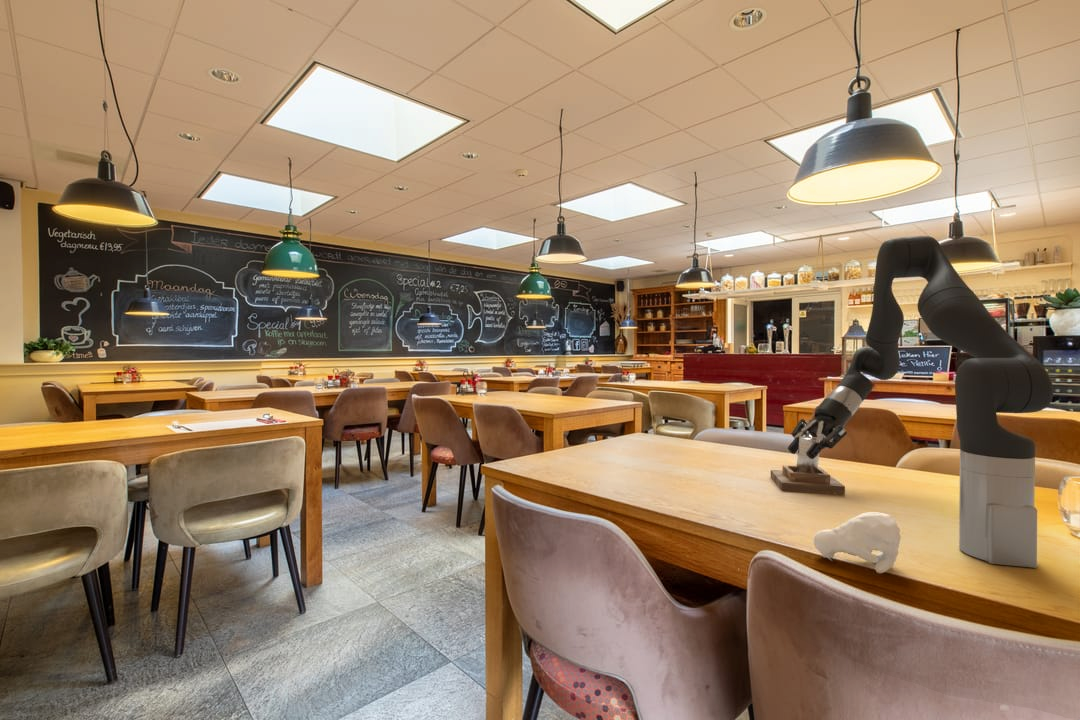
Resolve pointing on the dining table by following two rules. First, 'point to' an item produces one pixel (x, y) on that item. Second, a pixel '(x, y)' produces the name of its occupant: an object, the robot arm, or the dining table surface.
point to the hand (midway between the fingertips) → (799, 453)
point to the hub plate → (806, 481)
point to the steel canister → (802, 459)
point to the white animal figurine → (863, 539)
